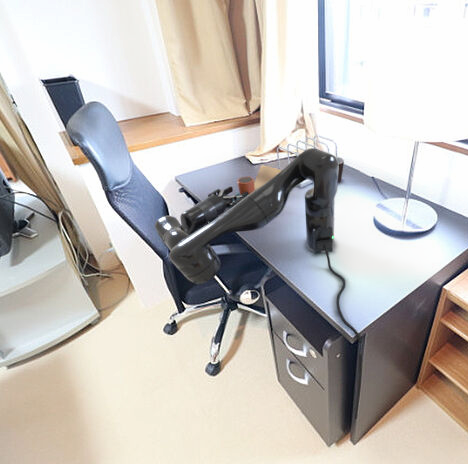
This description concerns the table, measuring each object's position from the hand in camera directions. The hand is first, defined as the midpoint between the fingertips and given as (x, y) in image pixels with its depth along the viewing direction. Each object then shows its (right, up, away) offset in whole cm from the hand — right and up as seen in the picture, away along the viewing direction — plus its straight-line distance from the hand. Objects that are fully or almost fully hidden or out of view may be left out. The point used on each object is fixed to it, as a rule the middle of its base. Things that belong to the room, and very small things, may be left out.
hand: (239, 191), depth 126 cm
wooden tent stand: (+9, +2, +16) cm, 18 cm away
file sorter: (+26, +12, +30) cm, 41 cm away
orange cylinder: (+4, -1, +9) cm, 10 cm away
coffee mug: (+37, +12, +20) cm, 44 cm away
